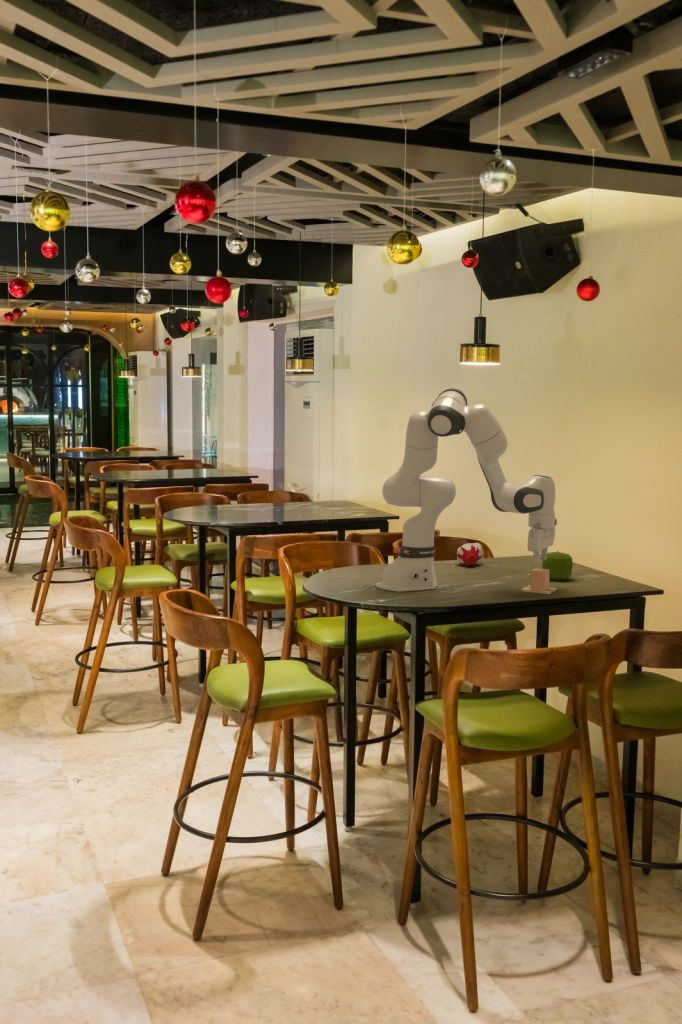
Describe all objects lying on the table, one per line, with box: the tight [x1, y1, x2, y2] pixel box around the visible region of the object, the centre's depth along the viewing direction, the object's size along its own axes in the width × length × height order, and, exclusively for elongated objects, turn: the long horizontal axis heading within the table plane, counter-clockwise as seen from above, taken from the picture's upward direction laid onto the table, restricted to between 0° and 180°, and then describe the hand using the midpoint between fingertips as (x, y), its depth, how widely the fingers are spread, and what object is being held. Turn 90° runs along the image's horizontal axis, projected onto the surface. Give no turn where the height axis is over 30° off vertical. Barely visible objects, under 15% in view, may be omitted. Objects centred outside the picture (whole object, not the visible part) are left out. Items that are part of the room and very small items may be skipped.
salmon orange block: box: [529, 568, 550, 591], centre depth 318 cm, size 5×5×7 cm
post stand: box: [520, 584, 558, 595], centre depth 318 cm, size 10×10×6 cm
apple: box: [541, 550, 573, 582], centre depth 340 cm, size 11×11×11 cm
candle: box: [455, 542, 485, 567], centre depth 370 cm, size 9×11×15 cm
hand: (540, 561), depth 318 cm, fingers open, 5 cm apart
